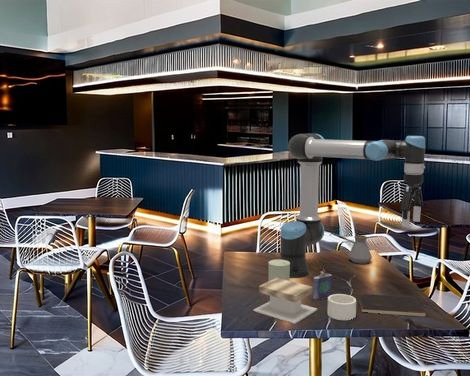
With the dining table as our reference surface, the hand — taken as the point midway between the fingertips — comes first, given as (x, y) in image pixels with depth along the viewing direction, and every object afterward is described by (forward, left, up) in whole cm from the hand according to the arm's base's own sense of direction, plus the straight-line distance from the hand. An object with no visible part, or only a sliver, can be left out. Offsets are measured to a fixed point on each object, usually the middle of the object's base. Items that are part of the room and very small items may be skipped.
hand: (410, 224), depth 197 cm
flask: (-23, -32, -28) cm, 49 cm away
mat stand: (-27, -53, -28) cm, 66 cm away
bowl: (-9, -43, -28) cm, 52 cm away
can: (-42, -35, -28) cm, 62 cm away
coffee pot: (-36, +21, -28) cm, 50 cm away
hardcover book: (+2, -24, -29) cm, 38 cm away
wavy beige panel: (-27, -53, -21) cm, 63 cm away
